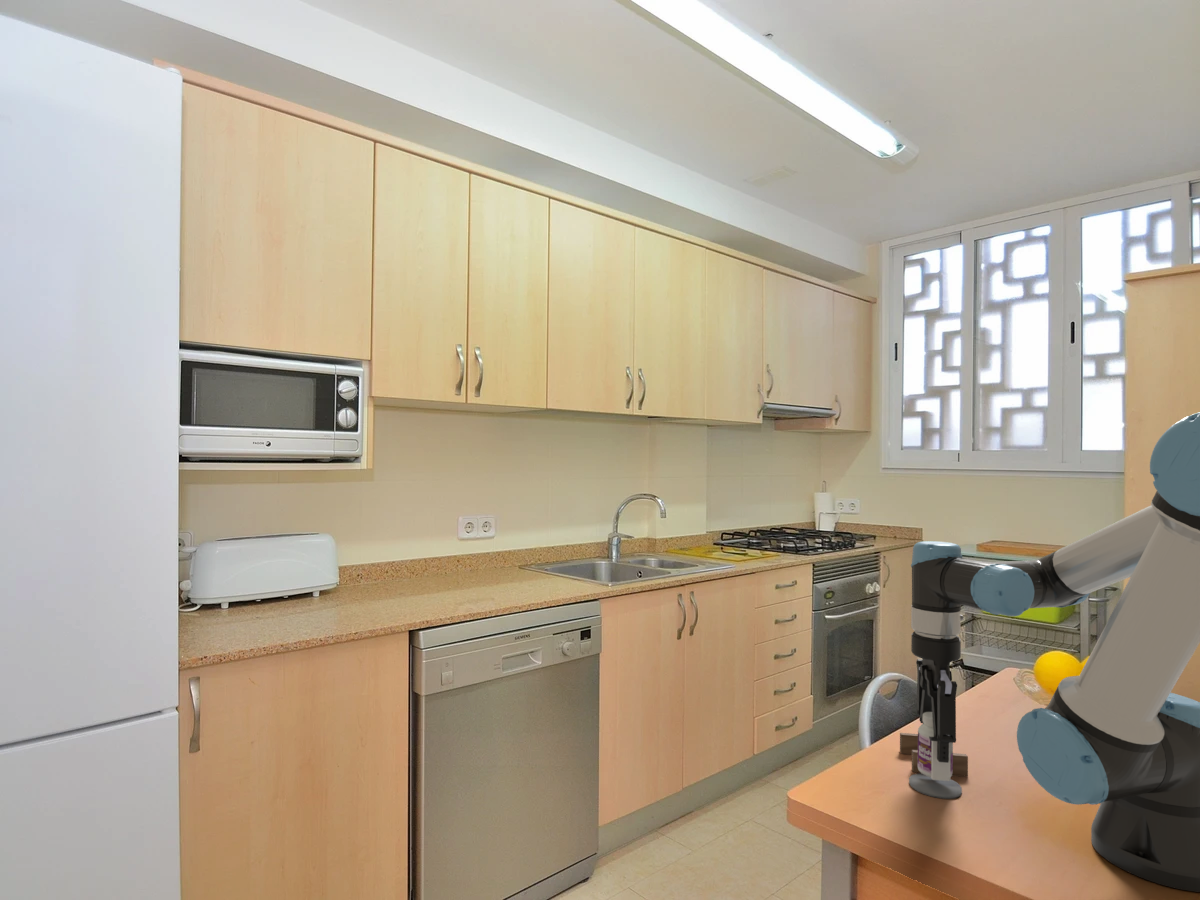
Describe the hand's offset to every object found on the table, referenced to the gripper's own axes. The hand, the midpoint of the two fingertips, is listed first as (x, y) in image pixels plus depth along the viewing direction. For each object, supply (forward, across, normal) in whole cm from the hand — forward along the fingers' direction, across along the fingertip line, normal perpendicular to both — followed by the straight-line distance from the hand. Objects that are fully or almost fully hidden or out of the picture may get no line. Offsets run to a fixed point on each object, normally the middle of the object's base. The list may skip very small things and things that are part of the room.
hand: (934, 771), depth 116 cm
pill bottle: (0, 0, 0) cm, 0 cm away
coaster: (+3, 0, 0) cm, 3 cm away
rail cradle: (+3, +10, -2) cm, 11 cm away
